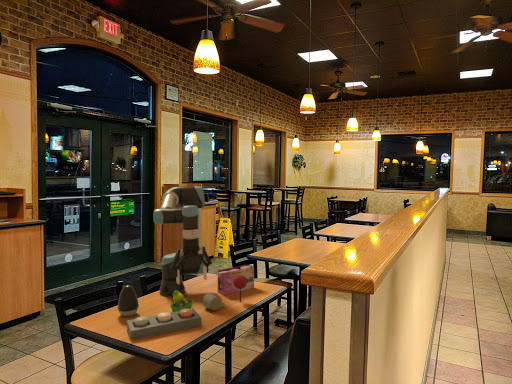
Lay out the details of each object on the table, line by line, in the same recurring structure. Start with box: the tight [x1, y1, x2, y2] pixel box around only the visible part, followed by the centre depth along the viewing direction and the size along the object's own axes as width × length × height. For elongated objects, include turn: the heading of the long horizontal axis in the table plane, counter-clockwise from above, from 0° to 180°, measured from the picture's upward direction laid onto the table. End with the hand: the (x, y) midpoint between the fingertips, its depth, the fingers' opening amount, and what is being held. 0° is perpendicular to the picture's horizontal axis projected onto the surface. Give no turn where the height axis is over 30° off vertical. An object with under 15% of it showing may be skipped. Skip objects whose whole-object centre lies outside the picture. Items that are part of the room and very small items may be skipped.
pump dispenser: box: [117, 284, 139, 317], centre depth 189 cm, size 10×10×15 cm
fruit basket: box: [170, 291, 194, 313], centre depth 191 cm, size 11×9×11 cm
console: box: [126, 308, 202, 341], centre depth 172 cm, size 13×32×4 cm, turn 117°
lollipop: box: [233, 275, 247, 302], centre depth 206 cm, size 8×8×15 cm
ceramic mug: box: [202, 292, 225, 311], centre depth 196 cm, size 11×8×8 cm
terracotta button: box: [180, 308, 193, 318], centre depth 177 cm, size 6×6×2 cm
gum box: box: [217, 264, 255, 296], centre depth 226 cm, size 24×8×14 cm, turn 127°
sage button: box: [134, 316, 149, 327], centre depth 167 cm, size 6×6×2 cm
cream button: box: [157, 311, 172, 322], centre depth 172 cm, size 6×6×2 cm
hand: (191, 281), depth 177 cm, fingers open, 13 cm apart
